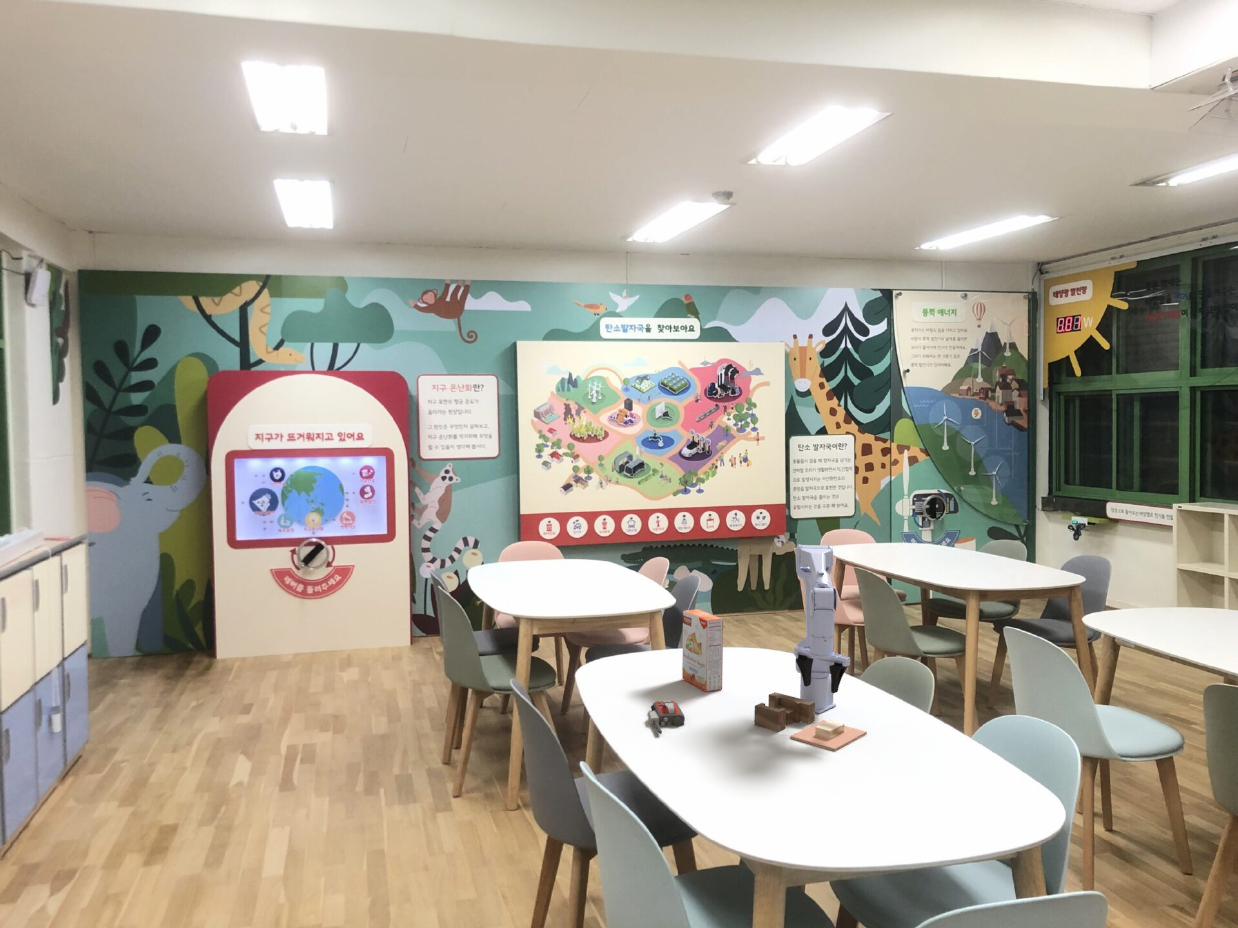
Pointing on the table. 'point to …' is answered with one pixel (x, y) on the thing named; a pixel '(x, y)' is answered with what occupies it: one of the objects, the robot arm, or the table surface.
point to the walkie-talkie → (665, 715)
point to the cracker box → (702, 650)
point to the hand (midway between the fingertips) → (820, 688)
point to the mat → (831, 744)
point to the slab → (829, 729)
